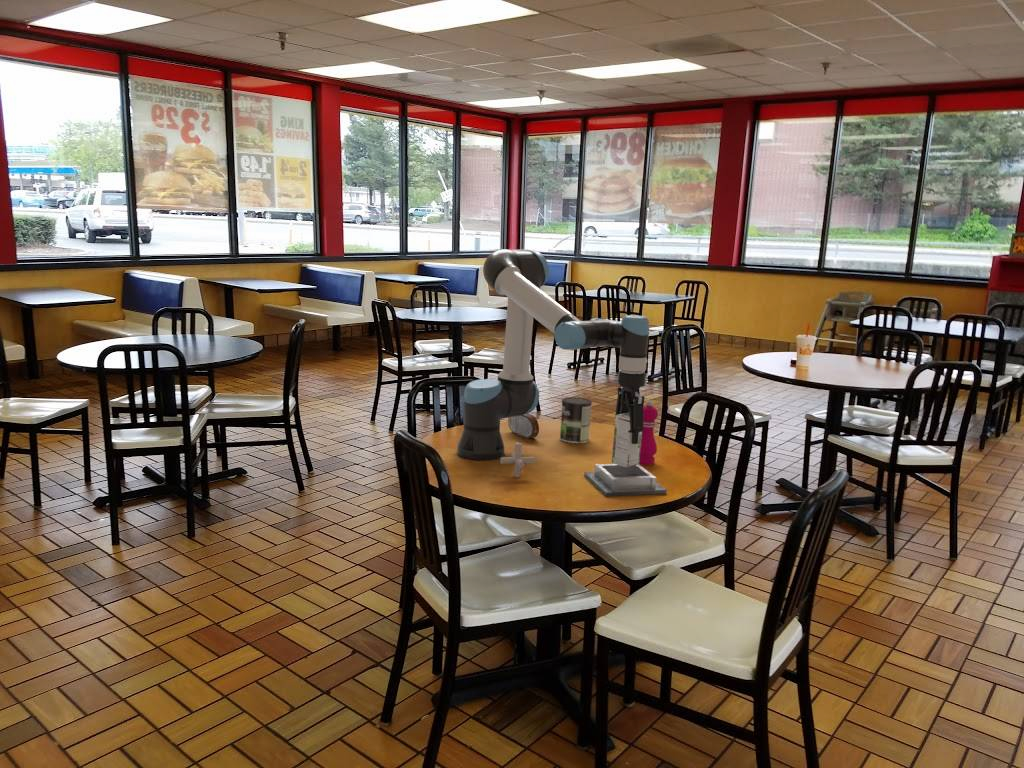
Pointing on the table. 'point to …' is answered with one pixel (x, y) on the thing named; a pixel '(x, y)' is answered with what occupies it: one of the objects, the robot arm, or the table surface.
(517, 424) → the tin
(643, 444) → the pepper mill
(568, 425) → the coffee can
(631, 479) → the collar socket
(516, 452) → the pipe connector
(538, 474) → the table surface
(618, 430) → the syrup box
